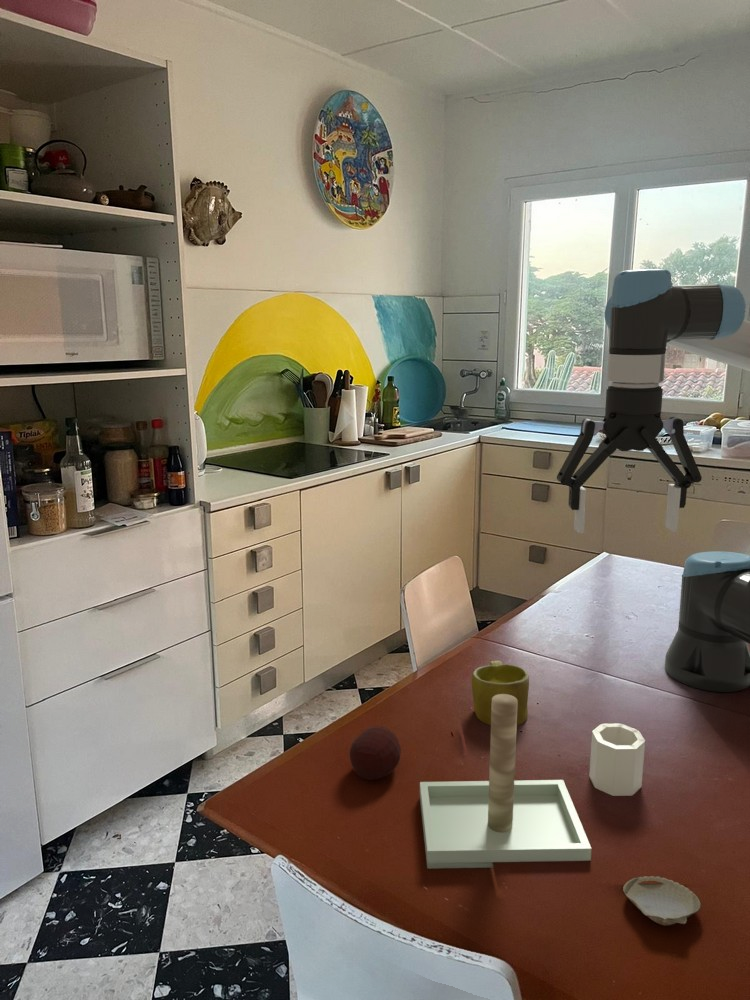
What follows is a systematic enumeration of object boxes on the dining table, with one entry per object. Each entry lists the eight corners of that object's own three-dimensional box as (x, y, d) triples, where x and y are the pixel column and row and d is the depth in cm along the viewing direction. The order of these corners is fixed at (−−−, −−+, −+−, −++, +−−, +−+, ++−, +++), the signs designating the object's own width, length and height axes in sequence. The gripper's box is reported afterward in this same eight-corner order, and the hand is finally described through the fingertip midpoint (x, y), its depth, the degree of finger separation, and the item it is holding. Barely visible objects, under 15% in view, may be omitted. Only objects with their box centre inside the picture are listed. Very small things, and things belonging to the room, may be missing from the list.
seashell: (691, 908, 90) (622, 876, 92) (699, 886, 89) (631, 854, 92) (692, 952, 82) (618, 915, 85) (702, 927, 82) (627, 891, 84)
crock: (630, 772, 113) (634, 723, 111) (645, 800, 106) (650, 748, 104) (585, 772, 113) (588, 723, 111) (598, 800, 106) (601, 749, 104)
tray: (562, 795, 108) (563, 779, 107) (590, 865, 94) (591, 848, 93) (419, 797, 107) (419, 781, 107) (427, 868, 94) (427, 851, 93)
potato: (340, 784, 111) (339, 746, 109) (365, 747, 120) (365, 711, 119) (388, 794, 108) (388, 755, 107) (410, 756, 118) (410, 719, 116)
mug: (538, 729, 121) (521, 667, 121) (476, 740, 124) (459, 680, 124) (542, 705, 133) (527, 649, 133) (485, 716, 136) (470, 661, 136)
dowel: (510, 816, 102) (515, 693, 98) (514, 832, 99) (519, 706, 94) (486, 816, 102) (490, 694, 98) (489, 832, 99) (494, 706, 94)
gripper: (711, 380, 111) (698, 521, 116) (539, 383, 111) (534, 524, 116) (735, 385, 104) (721, 535, 109) (552, 388, 104) (546, 539, 109)
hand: (625, 530), depth 113 cm, fingers open, 13 cm apart
